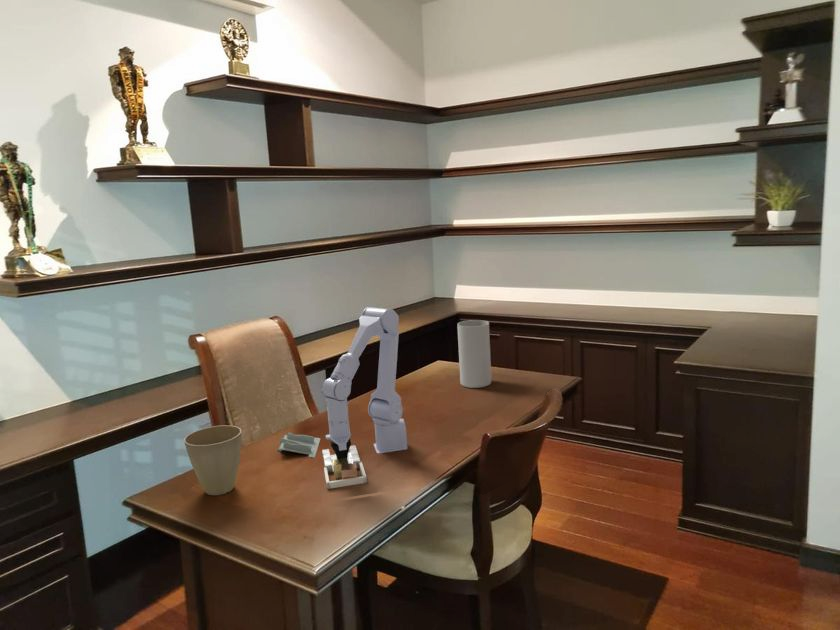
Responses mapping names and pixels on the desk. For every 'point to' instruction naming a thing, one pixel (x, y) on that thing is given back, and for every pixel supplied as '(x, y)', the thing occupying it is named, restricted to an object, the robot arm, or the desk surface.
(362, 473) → the tray
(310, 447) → the metal bracket
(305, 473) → the desk surface
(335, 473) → the brass cube
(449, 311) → the desk surface
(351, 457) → the aluminium channel
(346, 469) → the copper cube
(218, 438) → the plant pot
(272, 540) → the desk surface
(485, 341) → the cylinder vase
